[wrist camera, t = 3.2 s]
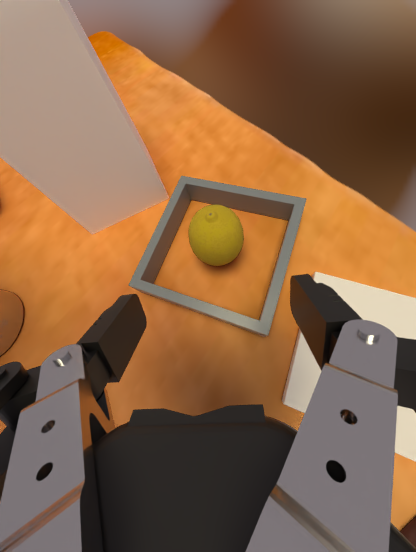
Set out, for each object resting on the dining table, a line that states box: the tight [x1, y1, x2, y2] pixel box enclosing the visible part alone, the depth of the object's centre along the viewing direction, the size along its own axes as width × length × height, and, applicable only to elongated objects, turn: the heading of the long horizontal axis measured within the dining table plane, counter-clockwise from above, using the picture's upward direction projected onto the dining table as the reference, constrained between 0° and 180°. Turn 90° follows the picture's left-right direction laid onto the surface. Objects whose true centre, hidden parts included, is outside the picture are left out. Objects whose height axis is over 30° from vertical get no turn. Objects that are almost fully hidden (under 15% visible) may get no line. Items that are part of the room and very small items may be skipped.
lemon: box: [189, 205, 244, 266], centre depth 21 cm, size 6×6×8 cm
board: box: [282, 272, 416, 461], centre depth 18 cm, size 13×13×1 cm
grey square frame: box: [129, 176, 306, 337], centre depth 23 cm, size 15×15×3 cm
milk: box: [0, 0, 169, 235], centre depth 18 cm, size 12×12×26 cm
